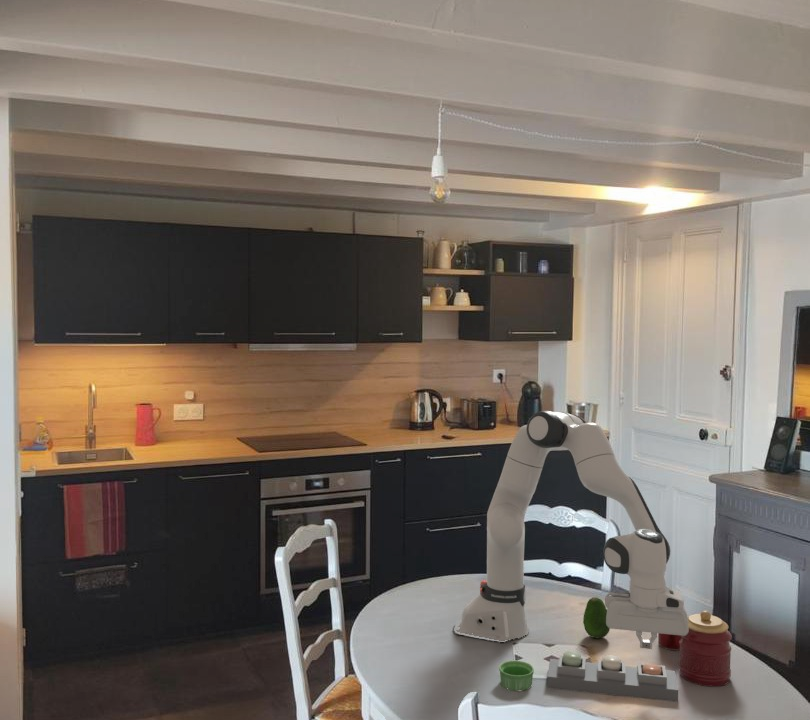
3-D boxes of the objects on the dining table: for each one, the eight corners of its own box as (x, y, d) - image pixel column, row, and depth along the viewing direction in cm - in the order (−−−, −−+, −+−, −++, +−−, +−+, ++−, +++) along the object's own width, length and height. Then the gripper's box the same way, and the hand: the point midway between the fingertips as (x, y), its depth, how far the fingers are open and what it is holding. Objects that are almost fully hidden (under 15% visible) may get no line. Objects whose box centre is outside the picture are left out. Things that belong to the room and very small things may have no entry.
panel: (547, 687, 208) (547, 669, 208) (550, 669, 219) (550, 651, 218) (678, 701, 200) (678, 682, 200) (674, 682, 211) (674, 663, 211)
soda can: (686, 652, 229) (687, 610, 229) (659, 650, 231) (660, 609, 230) (682, 641, 236) (683, 601, 236) (656, 640, 238) (657, 600, 237)
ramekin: (510, 673, 217) (510, 657, 216) (540, 683, 211) (540, 666, 211) (492, 685, 210) (492, 669, 210) (522, 695, 204) (522, 679, 204)
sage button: (562, 666, 210) (562, 658, 210) (563, 658, 214) (563, 650, 214) (580, 668, 209) (580, 659, 209) (581, 660, 213) (581, 652, 213)
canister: (725, 692, 206) (726, 624, 204) (673, 679, 212) (674, 614, 211) (734, 672, 217) (736, 607, 215) (685, 661, 223) (686, 598, 222)
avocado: (583, 631, 244) (584, 592, 244) (610, 634, 242) (611, 594, 242) (582, 641, 237) (582, 601, 236) (609, 644, 235) (610, 604, 234)
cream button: (602, 670, 208) (602, 661, 207) (602, 662, 212) (602, 654, 212) (620, 672, 206) (621, 663, 206) (620, 664, 211) (620, 656, 211)
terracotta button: (642, 679, 205) (643, 670, 205) (642, 671, 210) (642, 663, 210) (661, 681, 204) (662, 672, 204) (660, 673, 209) (660, 665, 208)
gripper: (605, 595, 205) (604, 648, 206) (690, 602, 200) (688, 657, 201) (605, 587, 211) (604, 638, 212) (687, 594, 207) (686, 646, 207)
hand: (646, 647), depth 207 cm, fingers closed
